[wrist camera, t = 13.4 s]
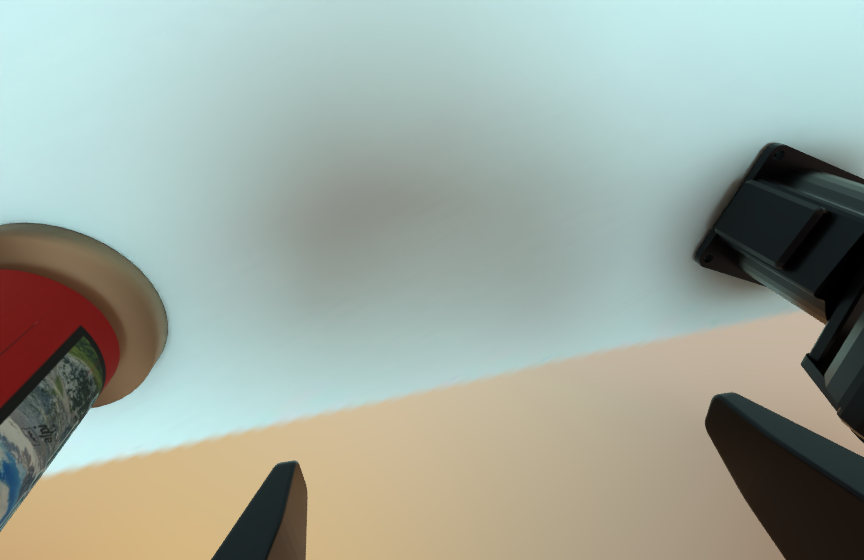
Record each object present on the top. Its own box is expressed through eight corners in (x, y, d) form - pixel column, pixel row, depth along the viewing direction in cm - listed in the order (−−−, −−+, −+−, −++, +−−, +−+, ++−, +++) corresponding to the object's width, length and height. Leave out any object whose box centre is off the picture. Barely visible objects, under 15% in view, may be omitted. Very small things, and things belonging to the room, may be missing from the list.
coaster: (102, 201, 19) (82, 214, 17) (200, 364, 23) (190, 384, 22) (-113, 251, 19) (-150, 268, 17) (27, 406, 23) (7, 428, 22)
